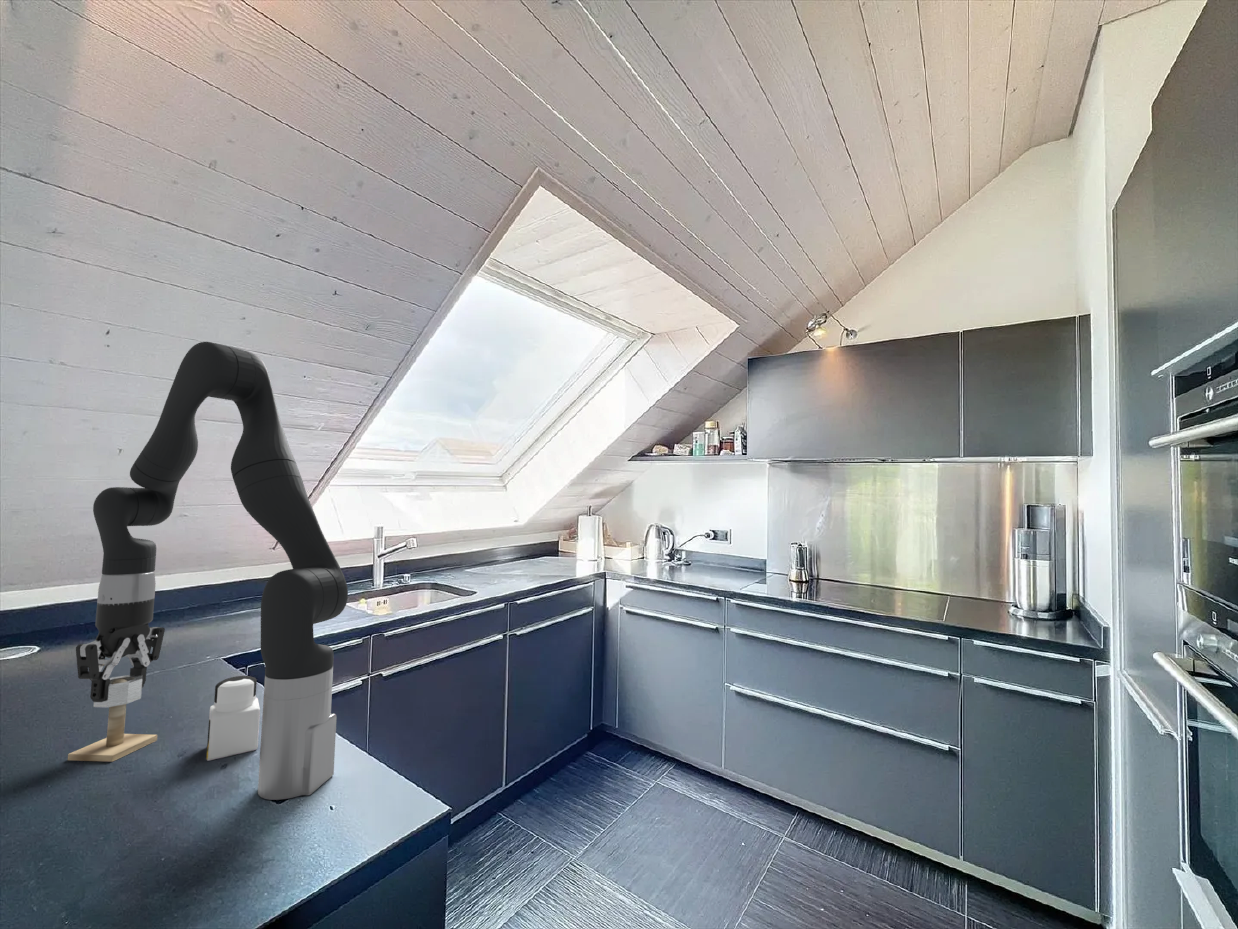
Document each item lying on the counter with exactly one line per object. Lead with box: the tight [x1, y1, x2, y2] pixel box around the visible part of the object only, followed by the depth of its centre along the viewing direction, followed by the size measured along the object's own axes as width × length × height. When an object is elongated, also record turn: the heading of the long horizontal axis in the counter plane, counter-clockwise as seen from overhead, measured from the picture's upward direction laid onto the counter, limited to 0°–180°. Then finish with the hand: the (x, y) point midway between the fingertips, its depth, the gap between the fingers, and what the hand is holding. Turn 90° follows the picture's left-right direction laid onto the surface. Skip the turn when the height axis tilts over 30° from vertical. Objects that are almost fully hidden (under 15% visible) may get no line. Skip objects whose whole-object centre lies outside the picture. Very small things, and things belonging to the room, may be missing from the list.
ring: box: [92, 674, 143, 708], centre depth 92 cm, size 6×6×4 cm
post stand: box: [67, 679, 158, 762], centre depth 92 cm, size 8×8×12 cm
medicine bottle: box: [206, 675, 261, 761], centre depth 93 cm, size 7×7×12 cm
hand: (118, 694), depth 92 cm, fingers closed on ring, 5 cm apart
